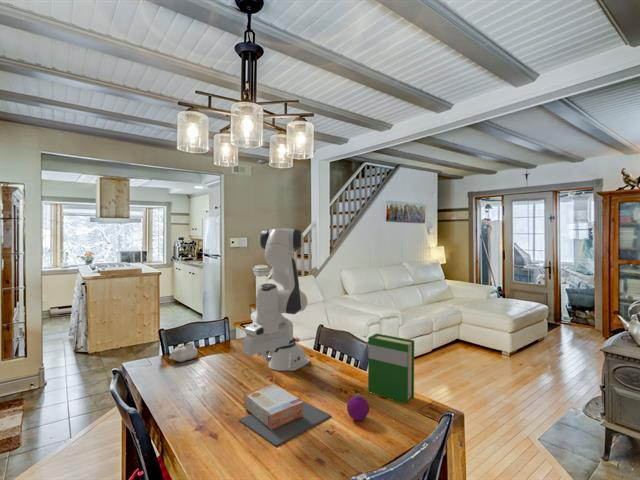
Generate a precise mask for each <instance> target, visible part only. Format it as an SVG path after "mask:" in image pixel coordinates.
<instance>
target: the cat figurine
mask: <svg viewBox="0 0 640 480" xmlns="http://www.w3.org/2000/svg"><path fill="white" fill-rule="evenodd" d="M170 353H171V354H170V355H169V357H168V358H169V359H170V360H174V361H176V362H180V363H182V362H185V361H191V360H192V359H195V358H196V357H197V356H198V349H197V348H196V347H195V344H194V343H193V342H187V343H185V344H184V345H183V344H178V345H177V346H175V348H174V349H173V350H172V351H171V352H170Z"/></svg>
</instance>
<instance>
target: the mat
mask: <svg viewBox="0 0 640 480" xmlns="http://www.w3.org/2000/svg"><path fill="white" fill-rule="evenodd" d="M300 400H301V401H303V417H301V418H298V419H296V420H293V421H291V422H289V423H287V424H284V425H282V426H280V427H277V428H275V429H273V430H271V429H270V428H268V427H267V426H266V425H265V424H264V423H262V422H261V421H260V420H259V419H258V418H256V417H255V416H254V415H253V414H252V413H250V414H247V415H245V416H243V417H240V418H238V422H240V423H241V424H243V425H244V426H245V427H247V428H248V429H250V430H252V432H254V433H255V434H257V435H258V436H259V437H261V438H262V439H264V440H265V441H266V442H269V444H271V445H273V446H274V447H275V448H276V447H279V446H281V445H282V444H284V443H286V442H287V441H290V440H291V439H294V438H296V437H297V436H299V435H300V434H302V433H305V432H307V431H308V430H310V429H311V428H313V427H315V426H317V425H319V424H320V423H323V422H324V421H326V420H328V419H330V418H331V417H332V415H331V413H328V412H325V411H324V410H321V409H320V408H318V407H316V406H314V405H312V404H310V403H308V402H307V401H304V400H302V399H300Z"/></svg>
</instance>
